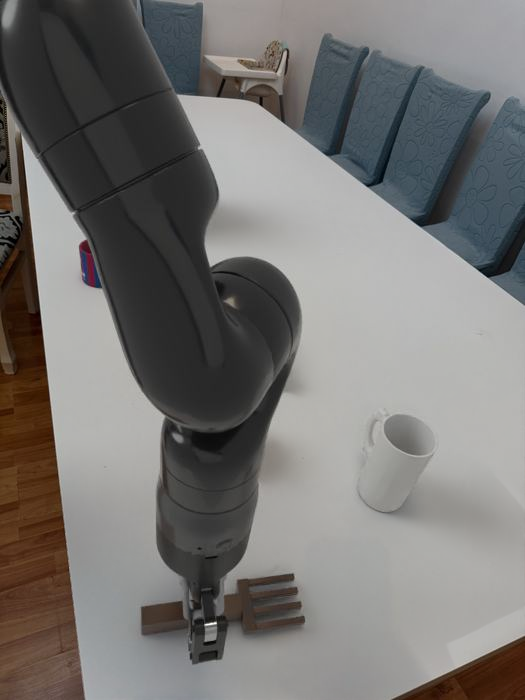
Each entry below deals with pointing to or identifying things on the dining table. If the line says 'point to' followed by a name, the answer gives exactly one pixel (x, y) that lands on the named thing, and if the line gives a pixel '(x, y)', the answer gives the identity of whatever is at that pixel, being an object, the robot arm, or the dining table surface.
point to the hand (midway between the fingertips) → (195, 599)
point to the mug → (394, 458)
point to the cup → (88, 265)
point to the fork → (230, 608)
